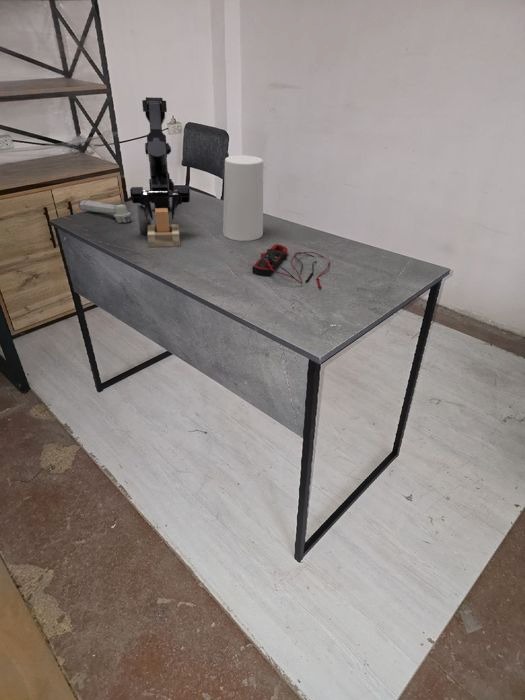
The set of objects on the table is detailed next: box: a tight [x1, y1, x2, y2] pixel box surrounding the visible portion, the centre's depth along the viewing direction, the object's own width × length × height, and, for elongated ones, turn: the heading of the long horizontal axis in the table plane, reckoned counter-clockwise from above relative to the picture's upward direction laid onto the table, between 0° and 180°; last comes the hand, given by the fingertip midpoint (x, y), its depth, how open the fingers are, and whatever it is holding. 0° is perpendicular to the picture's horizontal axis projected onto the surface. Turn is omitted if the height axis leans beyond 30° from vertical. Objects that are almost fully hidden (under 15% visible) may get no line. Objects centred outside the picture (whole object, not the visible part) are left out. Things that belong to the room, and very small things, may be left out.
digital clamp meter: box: [251, 244, 331, 293], centre depth 140 cm, size 23×4×25 cm
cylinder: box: [222, 154, 264, 242], centre depth 157 cm, size 14×25×14 cm
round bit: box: [136, 203, 152, 237], centre depth 157 cm, size 4×4×10 cm
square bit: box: [154, 207, 170, 233], centre depth 152 cm, size 4×4×10 cm
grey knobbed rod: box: [78, 199, 132, 224], centre depth 173 cm, size 5×7×25 cm
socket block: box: [147, 223, 181, 248], centre depth 154 cm, size 10×10×4 cm
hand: (162, 218), depth 149 cm, fingers open, 6 cm apart
